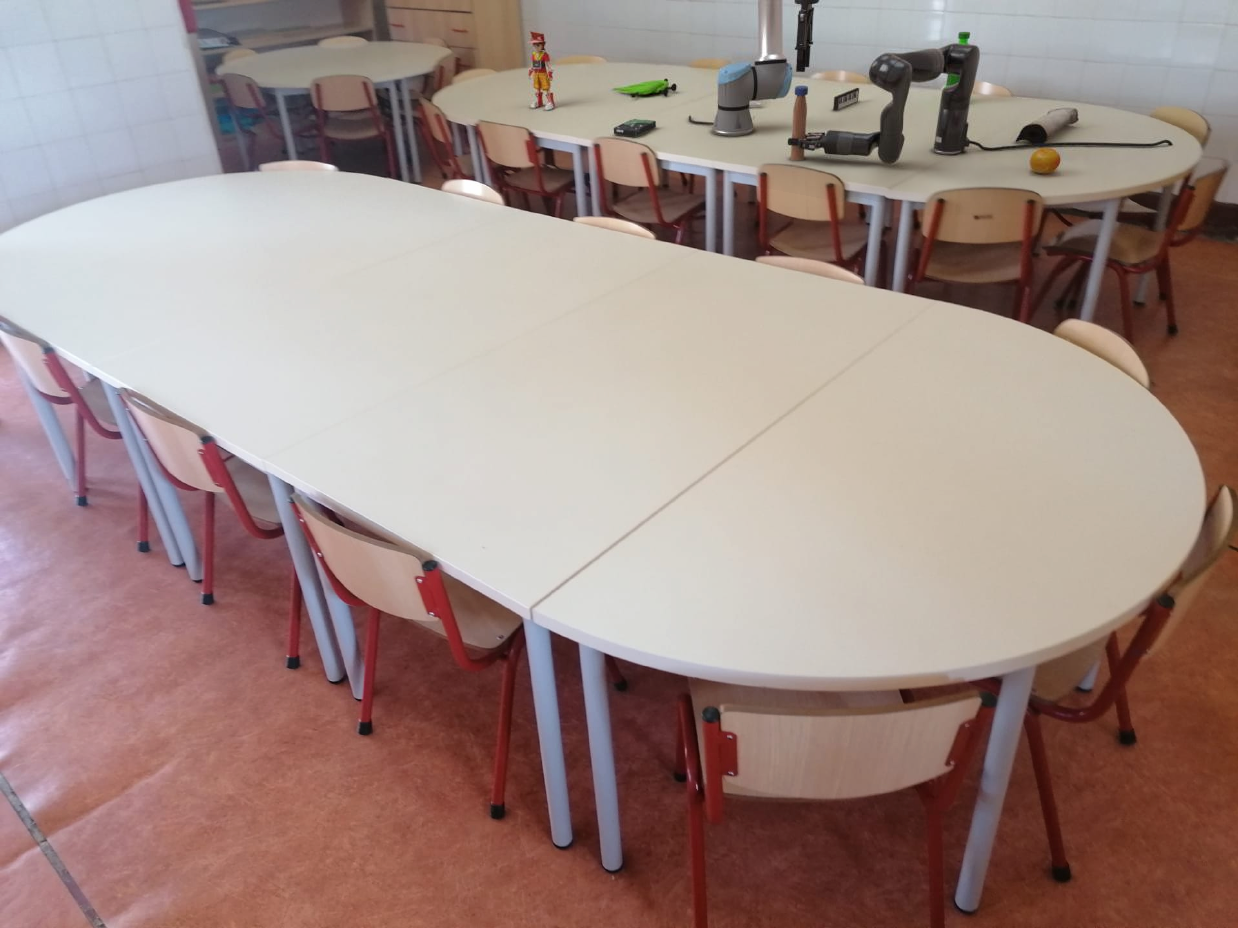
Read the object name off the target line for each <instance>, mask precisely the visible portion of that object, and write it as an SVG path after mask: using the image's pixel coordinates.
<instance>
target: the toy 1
mask: <svg viewBox="0 0 1238 928" xmlns="http://www.w3.org/2000/svg"><path fill="white" fill-rule="evenodd" d="M529 33H530V35H531V36H528V37H527V38H528V39H529V40H528V41H527V43H529V44H530V43H531V44H532V48H533V50H534V51H533V52H532V55H531V58H530V59H531V63H530V66H528V74H527V75H528V76H527V77H528V79H529V80H531V75H532V74H533V84H532V85H533V86H532V87H533V88H534V89H535V90H536V92H534V95H535V97H536V100H535V101H533V102H531V105H530V108H531V109H535V108H538V107H542V106H544V101H543V100H544V99H543V95H544V92H546V94H545V97H546V99H547V103H546V104H545V106H544V110H546V111H549V110H553V109H554V107H555V106H556V105H555V99H554V92H551V91H550V90H551V86H552V84H551V82H552V81H553V80H554V77H553V73H554V71H555V70H554V69H552V68H551V63H550V61H551V59H550V58H551V57H550V54H549V53H548V52H547V50H546V48H545V46H546V44H547V41H545V35H544V33H543V32H542V33H539V32H535V31H529Z"/></svg>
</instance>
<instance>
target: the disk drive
mask: <svg viewBox="0 0 1238 928" xmlns="http://www.w3.org/2000/svg"><path fill="white" fill-rule="evenodd" d="M656 127H657V122H656V120H650V119H649V120H648V119H639V118H637V119H636V118H634V119H633V118H632V119H630V120H627V121H626V122H623V123H621V124H619V125H616V126H614V127H613V135H615V136H616V135H617V136H624V137H633V138H634V137H635V138H636V137H640V136H641V135H643V134H646V133H647V132H649V131H652V130H654V129H656Z"/></svg>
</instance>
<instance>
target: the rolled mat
mask: <svg viewBox="0 0 1238 928" xmlns="http://www.w3.org/2000/svg"><path fill="white" fill-rule="evenodd" d="M1079 120H1080V119H1079V111H1078V109H1077V108H1075V107H1073V108H1072V107H1059V108H1054V109H1049V111H1048V112H1046V114H1045V115H1042V116H1040V117H1039V118H1037V119H1035V120H1033V121H1031V122H1029V123H1028V124H1026V125H1023V127H1022V128H1021V130H1020V131H1019V134H1018V135H1017V137H1016V138H1015V141H1014V142H1015V143H1018V142H1020V141H1026V142H1028V144H1039V143H1047V141H1049V140H1050V139H1051V138H1052V136H1054V135H1055V134H1056V133H1057V132H1058V131H1059V130H1061V129H1063V127H1065V126H1069V125H1074V124H1077V122H1079Z"/></svg>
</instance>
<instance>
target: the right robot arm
mask: <svg viewBox="0 0 1238 928" xmlns="http://www.w3.org/2000/svg"><path fill="white" fill-rule="evenodd" d="M969 44H970V43H969ZM969 44H959V42H957V43H955V42H954V43H950V44H949V43H948V44H947V45H945V46H941V47H938V48H935V47H933V48H926V49H925V48H924V49H919V50H915V51H909V52H885V53H882V54H880V55H879V56H877V57H876V58H875V59H874V60H873V61H872V63H871V64H870V67H869V70H868V78H869V80H870V82H871V83H872V84H873V85H874V86H876V87H878V88H880V89H882V90H883V91H885V92H887V93H890V94H891V96H892V100H890V101H889V102H888V103H887V104H886V105H885V106H884V107H883V109H882V110H881V112H880V115H879V131H873V132H870V133H866V132H854V131H848V130H835V129H829V130H827V131H826V132H811V131H810V132H807V133H805V139H801V138H800V139H798V138H792V137H789V138H787V146H791V145H793V146H798V147H799V148H800V149H804V151H806V150H807V151H810V152H811V151H812V152H815V151H816V150H819V149H823V151H824V152H823V153H824V154H825V155H833V156H857V157H869V156H870V155H871V154H872V153H873V151H874V150H875V149H877V156H878V159H879V160H880V161H881V162H882V163H883V164H886V165H892V164H895V163H896V162H897V161H898V160H899V158H900V157H901V154H902V151H903V149H904V144H905V139H906V138H905V134H904V133H903V131H904V116H905V109H906V104H907V101H908V96H909V93H910V92H909V91H910V88H911V87H910V86H911V84H912V83H919V84H921V83H928V82H931V81H934V80H936V79H938V78H939V77H940V76H941V74H944V75H948V74H950V75H958V76H960V79H959V82H958V83H957V84H954V85H950V86H947V87H945V86H944V87H945V88H944V87H943V88H942V90H941V93H940V95H941V96H940V102H939V110H938V114H937V115H938V116H937V124H936V130H935V136H934V143H933V148H932V151H933V152H934V153H936V154H940V155H945V156H947V155H949V156H950V155H959V154H964V153H965V150H966V149H965V148H969V147H970V145H974V146H977V147H978V148H979V149H981V150H982V151H992V152H993V151H1001V150H1013V149H1022V148H1023V149H1024V148H1035V147H1037V148H1038V147H1054V146H1056V147H1058V146H1092V147H1093V146H1097V147H1099V146H1100V147H1137V148H1139V147H1141V148H1143V147H1145V148H1147V147H1148V148H1149V147H1157V146H1160V145H1163V144H1168V146H1173V145H1174V144H1173V142H1172V141H1170V139H1163V140H1160V141H1156V142H1153V143H1139V142H1138V143H1136V142H1135V143H1134V142H1133V143H1132V142H1094V141H1093V142H1090V141H1089V142H1087V141H1086V142H1084V141H1083V142H1082V141H1081V142H1080V141H1076V142H1074V141H1073V142H1071V141H1069V142H1045V143H1039V144H1030V143H1027V144H1017V145H1016V144H1015V145H1003V146H995V147H994V146H993V147H988V146H984V145H982V144H981V143H979V142H978V141H974V140H971V139H970V138H969V137H968V130H969V122H968V119H969V118H968V116H969V111H970V105H971V98H972V93H973V90H974V87H975V82H976V78H977V73H978V68H979V65H980V64H979V63H980V58H981V50H980V47H979V46H978V45H975V44H970V45H969ZM803 143H805V145H803Z"/></svg>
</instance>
